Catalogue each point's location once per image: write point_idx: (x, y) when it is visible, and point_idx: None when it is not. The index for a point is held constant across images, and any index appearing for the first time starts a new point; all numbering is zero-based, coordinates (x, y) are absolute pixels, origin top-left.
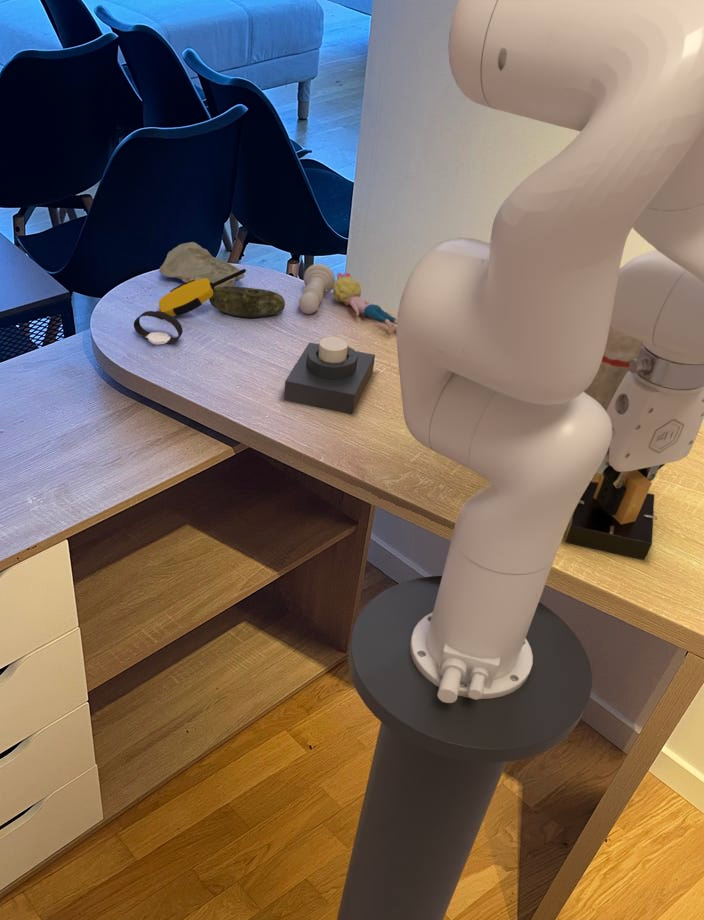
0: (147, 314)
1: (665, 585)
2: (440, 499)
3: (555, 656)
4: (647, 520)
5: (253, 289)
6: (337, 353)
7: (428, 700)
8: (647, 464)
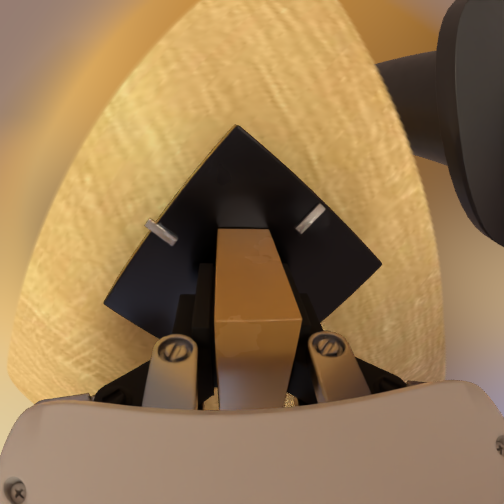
0: None
1: (249, 34)
2: (422, 365)
3: (488, 52)
4: (177, 222)
5: None
6: None
7: None
8: (337, 426)
